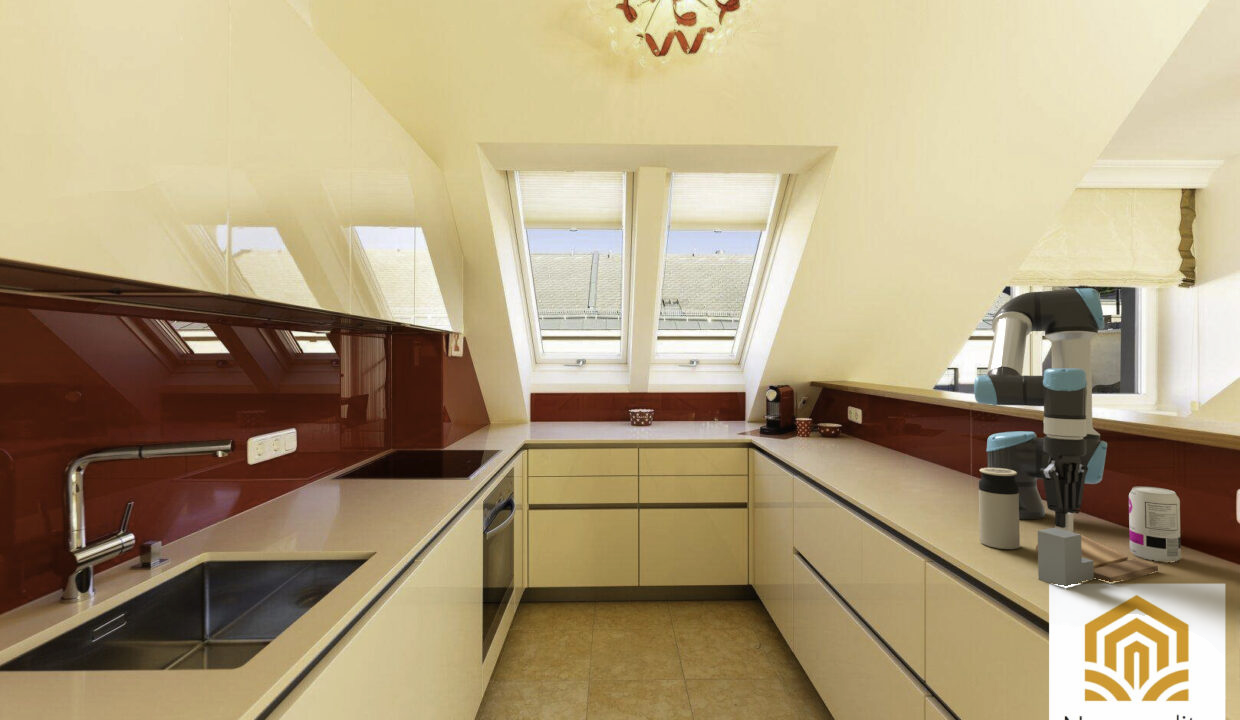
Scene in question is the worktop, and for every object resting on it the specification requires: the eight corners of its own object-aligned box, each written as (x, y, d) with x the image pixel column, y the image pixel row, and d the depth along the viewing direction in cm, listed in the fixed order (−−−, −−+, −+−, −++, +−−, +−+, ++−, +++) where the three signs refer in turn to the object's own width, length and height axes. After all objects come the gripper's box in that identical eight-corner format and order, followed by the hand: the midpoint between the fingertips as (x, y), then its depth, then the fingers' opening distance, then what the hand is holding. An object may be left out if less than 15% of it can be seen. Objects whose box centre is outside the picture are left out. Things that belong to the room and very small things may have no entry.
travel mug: (1026, 551, 128) (1025, 474, 128) (988, 549, 129) (987, 473, 129) (1009, 540, 136) (1008, 467, 136) (974, 538, 137) (972, 467, 137)
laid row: (1131, 564, 119) (1131, 557, 119) (1158, 571, 114) (1157, 565, 114) (1084, 576, 113) (1084, 569, 113) (1110, 584, 109) (1110, 577, 109)
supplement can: (1122, 554, 125) (1121, 488, 125) (1141, 548, 128) (1140, 484, 128) (1169, 566, 117) (1167, 496, 117) (1188, 559, 121) (1187, 491, 121)
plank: (1081, 540, 128) (1082, 535, 127) (1128, 562, 119) (1130, 557, 119) (1035, 550, 122) (1036, 545, 122) (1081, 574, 114) (1083, 569, 113)
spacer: (1069, 572, 115) (1068, 524, 115) (1096, 581, 111) (1095, 531, 111) (1038, 579, 112) (1037, 530, 112) (1065, 588, 107) (1064, 537, 107)
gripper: (1064, 432, 129) (1064, 532, 129) (1027, 436, 124) (1027, 539, 125) (1102, 437, 122) (1102, 542, 122) (1063, 440, 117) (1063, 550, 118)
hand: (1064, 540), depth 123 cm, fingers closed
